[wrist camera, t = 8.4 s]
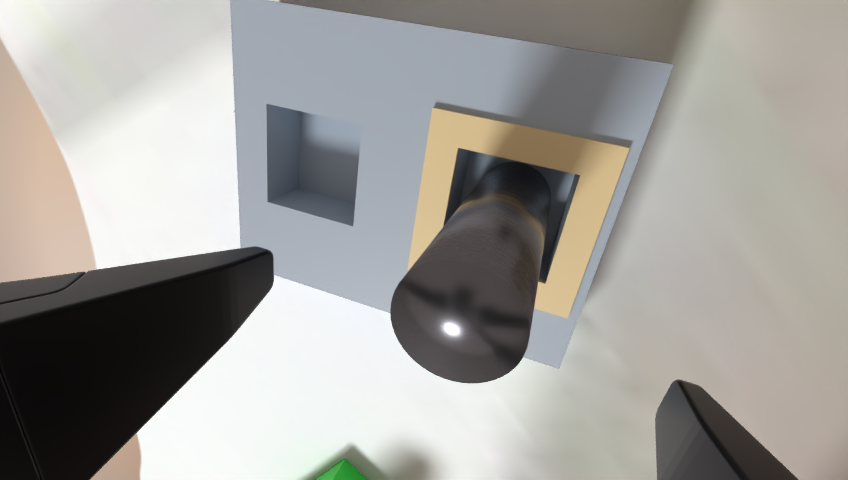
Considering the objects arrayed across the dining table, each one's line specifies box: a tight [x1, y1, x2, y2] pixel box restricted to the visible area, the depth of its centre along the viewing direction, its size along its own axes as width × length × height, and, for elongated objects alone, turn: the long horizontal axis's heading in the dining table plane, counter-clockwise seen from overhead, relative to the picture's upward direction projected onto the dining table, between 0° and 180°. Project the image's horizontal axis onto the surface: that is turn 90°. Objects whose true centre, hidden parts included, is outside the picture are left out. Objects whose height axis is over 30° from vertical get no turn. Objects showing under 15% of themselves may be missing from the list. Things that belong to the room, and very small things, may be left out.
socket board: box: [230, 0, 674, 369], centre depth 18 cm, size 16×12×3 cm
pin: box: [390, 162, 551, 383], centre depth 14 cm, size 3×3×10 cm
